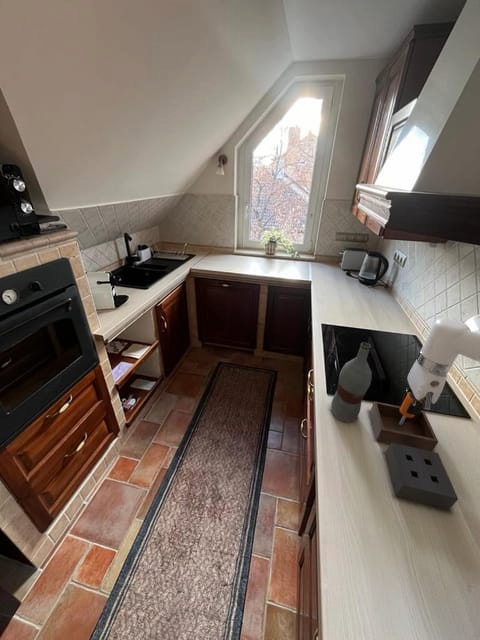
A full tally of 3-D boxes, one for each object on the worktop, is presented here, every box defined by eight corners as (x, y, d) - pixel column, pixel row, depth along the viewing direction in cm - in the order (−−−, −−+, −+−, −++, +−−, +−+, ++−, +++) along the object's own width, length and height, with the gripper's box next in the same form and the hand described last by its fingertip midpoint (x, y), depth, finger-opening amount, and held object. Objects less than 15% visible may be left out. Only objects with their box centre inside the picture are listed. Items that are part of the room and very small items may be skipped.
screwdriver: (405, 420, 84) (421, 391, 77) (409, 430, 80) (425, 401, 74) (392, 417, 84) (406, 389, 78) (395, 427, 81) (410, 398, 74)
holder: (429, 465, 75) (438, 452, 72) (447, 511, 64) (458, 499, 61) (384, 454, 77) (390, 442, 74) (395, 497, 67) (403, 485, 64)
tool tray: (417, 422, 87) (424, 411, 84) (430, 453, 78) (438, 441, 75) (369, 412, 91) (374, 401, 88) (375, 441, 81) (381, 429, 78)
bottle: (329, 420, 88) (350, 350, 72) (329, 400, 95) (348, 333, 80) (358, 427, 85) (386, 356, 70) (356, 406, 93) (380, 339, 78)
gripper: (464, 385, 61) (433, 433, 71) (437, 346, 76) (414, 390, 85) (430, 379, 63) (404, 427, 72) (409, 342, 77) (389, 386, 86)
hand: (409, 407), depth 78 cm, fingers closed on screwdriver, 4 cm apart
